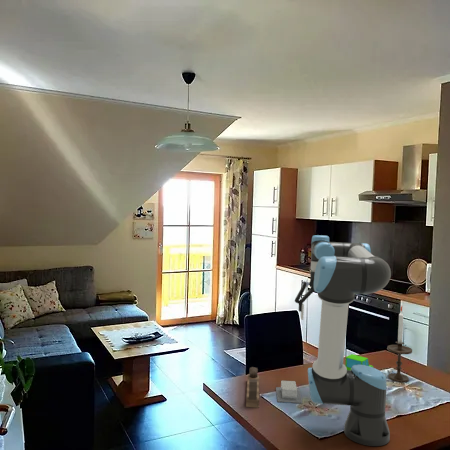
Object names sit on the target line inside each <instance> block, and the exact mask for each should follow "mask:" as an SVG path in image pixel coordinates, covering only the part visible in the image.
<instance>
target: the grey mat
mask: <svg viewBox="0 0 450 450" xmlns="http://www.w3.org/2000/svg"><path fill="white" fill-rule="evenodd" d="M275 392H276V401H277V403H284V402H291V403H290V404H300V403H302V404H303V398H302V395H301V390H300V388H298V387H297V400H295V399H282V394H281V386H276V387H275Z"/></svg>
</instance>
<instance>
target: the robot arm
mask: <svg viewBox="0 0 450 450" xmlns="http://www.w3.org/2000/svg"><path fill="white" fill-rule="evenodd" d="M310 244H311V246H310V247H311V251H310V252H311V253H310V254H311V255H310V256H311V257H310V258H311V259H310V270H311V271H310V274H309V275H310V276H309V277H310V278H309V282H308V281H305V280H304V281H302V286H301V287H300V290H299V291H298V293H297V294H296V297H295V299H294V302H295V303H296V304H298V311H299V312H300V319H301V320H302V321H304V311H305V309H304V308H305V307H304V306H305V305H304V302H306V300H307V299H308V298H309V297H310V296H311V295H312V294H313V293H317V296H318V298H319V300H321V311H320V322H319V323H320V324H319V336H318V350H317V359H316V360H314V362H313V363H312V367H308V368H307V379H308V387H309V397H310V400H311V401H312V402H313V403H314V404H321V405H335V406H337V405H338V406H349V407H350V408H349V412H348V414H347V417H346V420H345V422H344V426H343V432H344V434H345V436H346V437H347V438H348V439H350V440H351V441H353V442H354V443H357V444H360V445H363V446H369V447H380V446H381V447H382V446H385V445H387V444H388V443H389V442H390V437H391V434H390V432H391V431H390V428H389V424H388V422H387V418H386V403H387V401H386V400H387V389H388V387H387V377H386V375H385V373H384V372H383V371H381V370H379V369H377V368H375V367H374V366H373V367H370V366H366V365H353V366H352V368H351V370H347V368H346V366H345V364H344V358H345V357H344V356H345V346H346V336H347V325H348V316H349V306H350V305H349V304H351V303H353V302H354V300H355V295H358V294H359V295H371V294H374V293H377V292H379V291H381V290H383V289H384V288H385V287H386V286H387V285H388V283H389V282H390V279H391V277H392V271H391V270H392V269H391V268H390V265H389V264H388V262H386V260H384V259H383V258H381V257H380V256H375V255H373V254H372V251H371V246H370V244H369V243H366V242H365V243H364V242H336V241H330V237H329V236H328V235H322V234H321V235H319V234H317V235H312V237H311V242H310ZM308 286H309V287H310V288H309V289H308V291H307V292H306V293H305V294H304V291H305V290H306V288H308ZM303 294H304V295H303ZM302 295H303V296H302Z"/></svg>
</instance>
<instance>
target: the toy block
mask: <svg viewBox="0 0 450 450" xmlns="http://www.w3.org/2000/svg"><path fill="white" fill-rule="evenodd" d="M344 365H345V366H346V368H347V370H351V368H352V366H353V365H366V366H370V367H373V368H374V366H373V365H371V364H370V363H369V358H368V357H364V356H361V355H357V354H353V353H352V354H349V355H347V356H345V364H344Z"/></svg>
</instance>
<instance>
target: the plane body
mask: <svg viewBox="0 0 450 450" xmlns="http://www.w3.org/2000/svg"><path fill="white" fill-rule="evenodd" d="M258 371H259V369H258V367H254V366H251V367H249V373H248V374H247V380H246V381H247V383H246V396H245V397H246V398H245V399H246V400H245V401H246V403H245V407H246V408H260V375H259V374H258Z"/></svg>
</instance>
